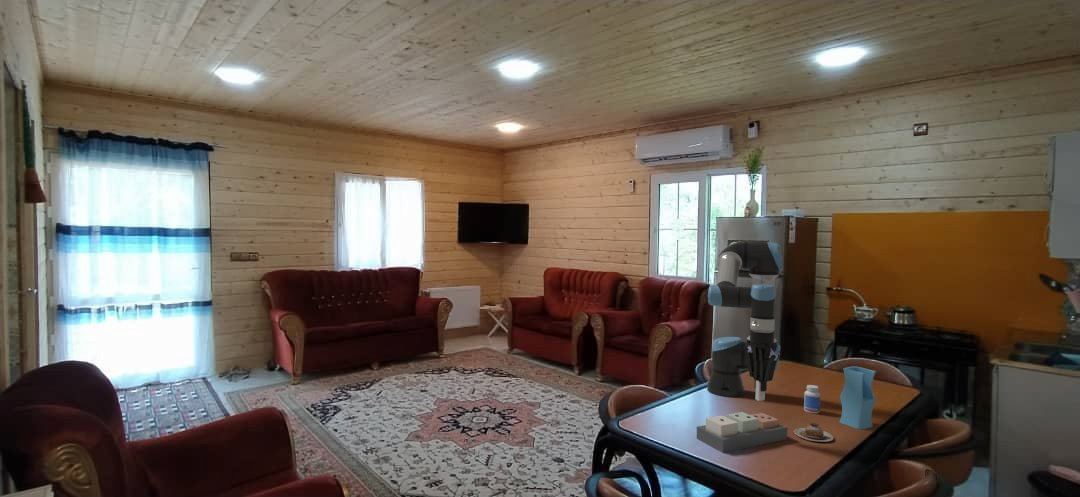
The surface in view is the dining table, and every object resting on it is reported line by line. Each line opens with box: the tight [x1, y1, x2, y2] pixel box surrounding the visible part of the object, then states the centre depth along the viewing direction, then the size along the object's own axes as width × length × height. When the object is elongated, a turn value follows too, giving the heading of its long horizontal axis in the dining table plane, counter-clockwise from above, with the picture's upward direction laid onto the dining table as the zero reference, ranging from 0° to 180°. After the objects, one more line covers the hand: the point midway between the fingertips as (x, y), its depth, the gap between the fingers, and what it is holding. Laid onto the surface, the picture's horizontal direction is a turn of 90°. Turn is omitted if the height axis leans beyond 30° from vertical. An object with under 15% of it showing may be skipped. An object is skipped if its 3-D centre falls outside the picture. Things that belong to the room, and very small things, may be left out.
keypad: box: [696, 423, 788, 453], centre depth 176 cm, size 12×28×4 cm, turn 114°
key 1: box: [705, 415, 738, 437], centre depth 172 cm, size 7×7×4 cm
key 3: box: [750, 412, 779, 429], centre depth 179 cm, size 7×7×4 cm
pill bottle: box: [803, 384, 821, 414], centre depth 204 cm, size 6×5×10 cm
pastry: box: [793, 422, 834, 443], centre depth 179 cm, size 12×12×5 cm
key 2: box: [726, 411, 759, 433], centre depth 176 cm, size 7×7×4 cm
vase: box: [839, 366, 877, 430], centre depth 190 cm, size 8×8×20 cm
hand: (760, 399), depth 178 cm, fingers closed
